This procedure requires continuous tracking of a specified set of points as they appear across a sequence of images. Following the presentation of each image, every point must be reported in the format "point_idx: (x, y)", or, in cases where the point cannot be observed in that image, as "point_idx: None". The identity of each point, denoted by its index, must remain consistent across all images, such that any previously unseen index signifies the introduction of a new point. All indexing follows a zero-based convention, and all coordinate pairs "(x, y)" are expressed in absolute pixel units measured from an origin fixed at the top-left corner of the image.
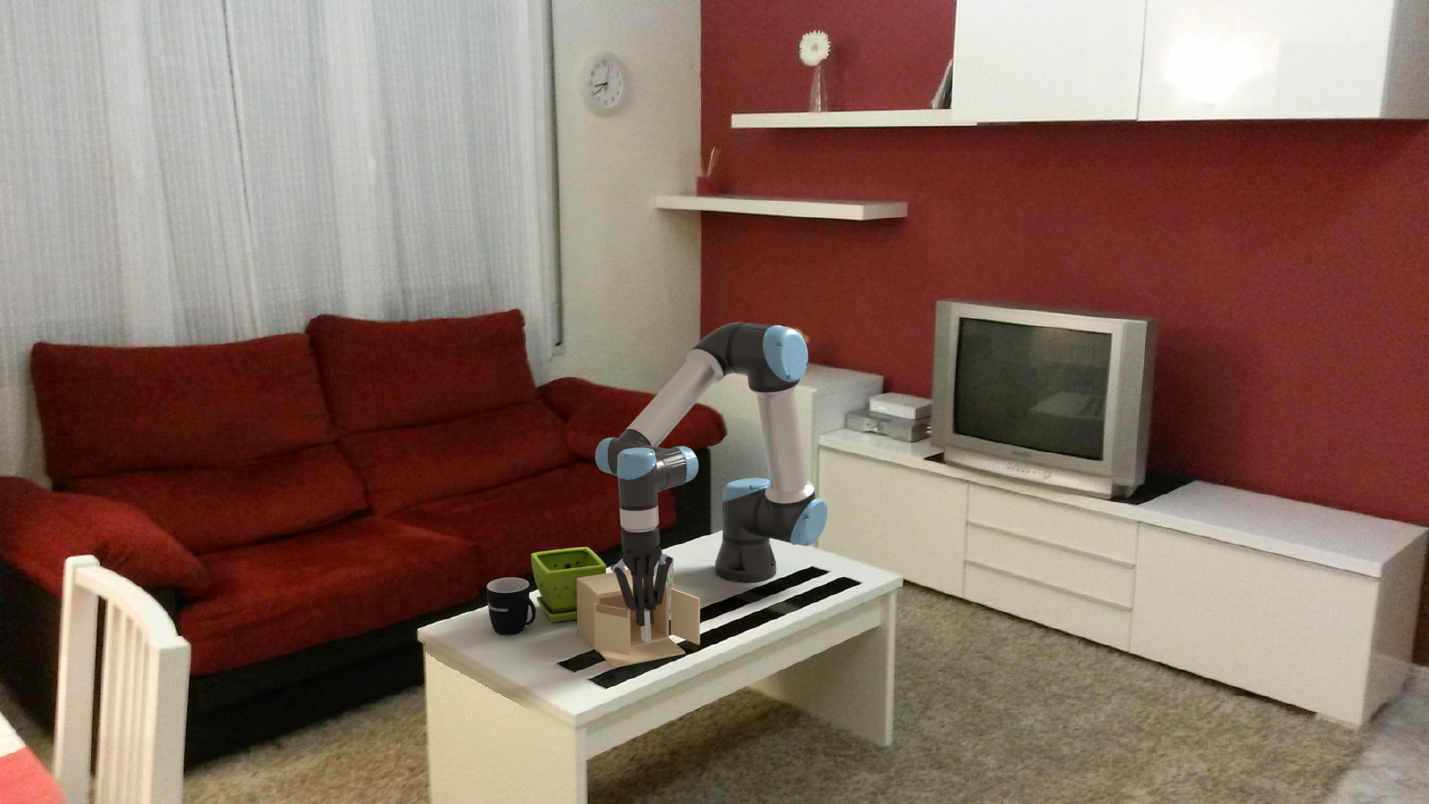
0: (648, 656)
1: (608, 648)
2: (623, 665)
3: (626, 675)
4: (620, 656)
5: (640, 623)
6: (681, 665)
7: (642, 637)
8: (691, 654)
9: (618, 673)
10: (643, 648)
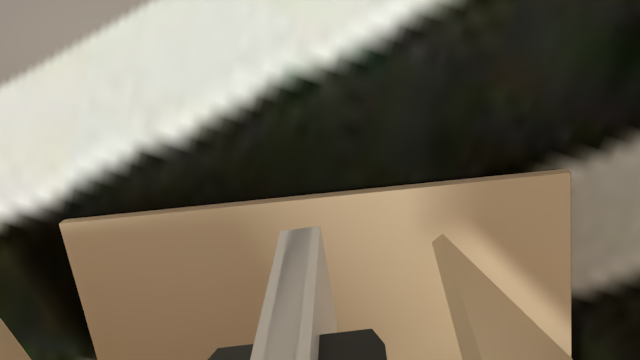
0: None
1: (561, 355)
2: (494, 178)
3: (526, 28)
4: None
5: (369, 351)
6: (120, 62)
7: (333, 311)
8: (28, 199)
9: (567, 79)
10: None
